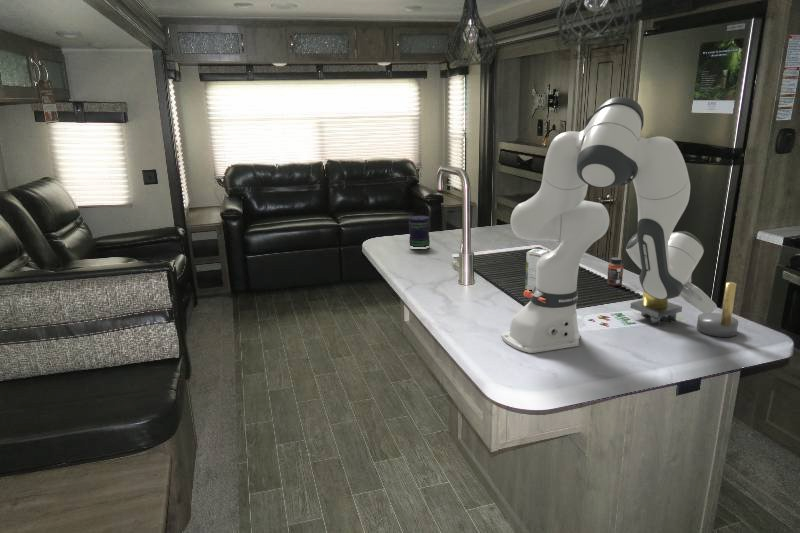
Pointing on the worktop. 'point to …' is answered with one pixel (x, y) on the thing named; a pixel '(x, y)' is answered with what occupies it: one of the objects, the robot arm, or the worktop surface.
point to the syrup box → (532, 267)
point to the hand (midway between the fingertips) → (705, 310)
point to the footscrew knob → (721, 317)
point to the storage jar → (419, 231)
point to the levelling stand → (656, 308)
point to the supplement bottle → (615, 272)
